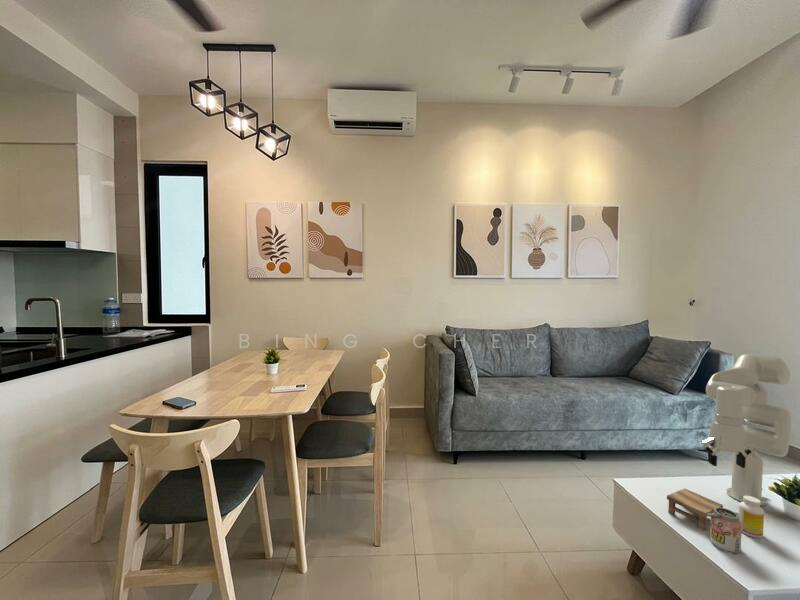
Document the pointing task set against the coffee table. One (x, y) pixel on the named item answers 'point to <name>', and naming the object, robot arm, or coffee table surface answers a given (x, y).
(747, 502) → the supplement bottle
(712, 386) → the robot arm
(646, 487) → the coffee table surface
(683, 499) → the footstool
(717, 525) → the pink labeled can
